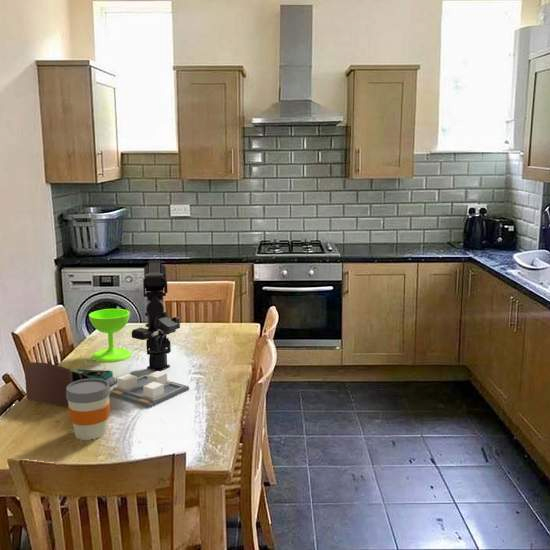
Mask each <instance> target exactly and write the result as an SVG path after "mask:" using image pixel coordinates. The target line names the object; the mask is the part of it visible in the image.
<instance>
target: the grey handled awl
mask: <svg viewBox="0 0 550 550" xmlns="http://www.w3.org/2000/svg"><path fill="white" fill-rule="evenodd" d="M106 381H108V383H109V387H111V386H112V385H113V384H115V382H116V378H115V377H114V376H113V377H110V378H108V379H107V380H106Z"/></svg>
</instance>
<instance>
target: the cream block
mask: <svg viewBox="0 0 550 550" xmlns="http://www.w3.org/2000/svg"><path fill="white" fill-rule="evenodd" d="M146 375H147V379H148V384H149V383H152V382H157V383H161V384H164V385H165V384H167V380H168V374H167V373H166V372H162V371H156V370H155V371H154V372H152V373H149V374H146Z"/></svg>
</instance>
